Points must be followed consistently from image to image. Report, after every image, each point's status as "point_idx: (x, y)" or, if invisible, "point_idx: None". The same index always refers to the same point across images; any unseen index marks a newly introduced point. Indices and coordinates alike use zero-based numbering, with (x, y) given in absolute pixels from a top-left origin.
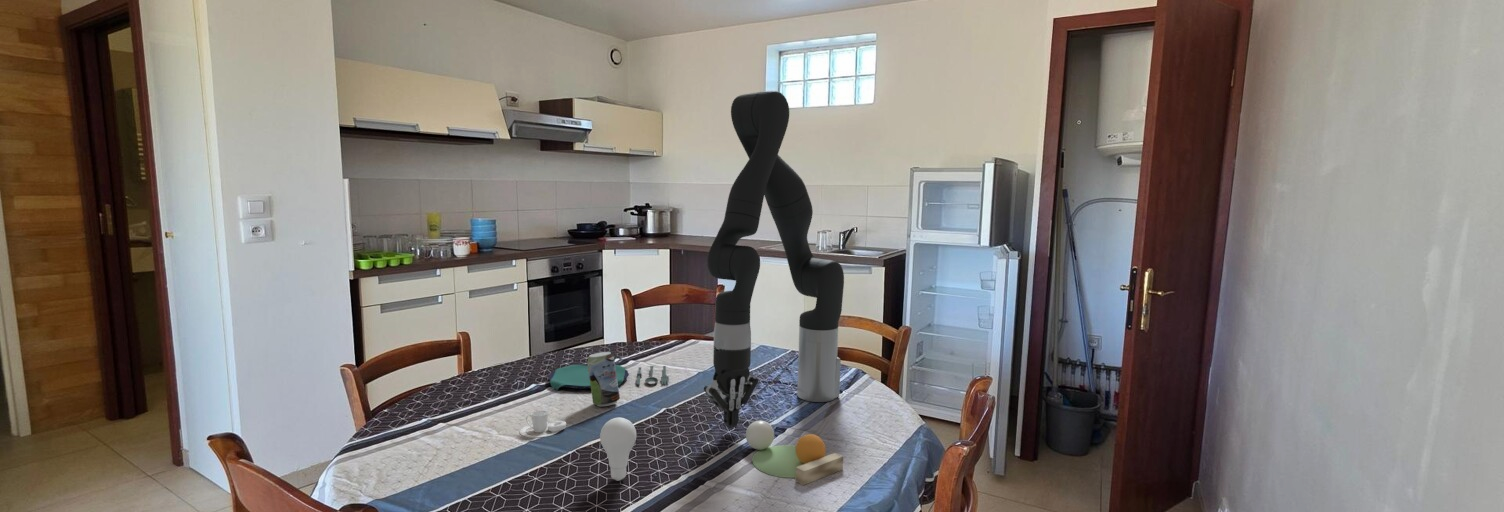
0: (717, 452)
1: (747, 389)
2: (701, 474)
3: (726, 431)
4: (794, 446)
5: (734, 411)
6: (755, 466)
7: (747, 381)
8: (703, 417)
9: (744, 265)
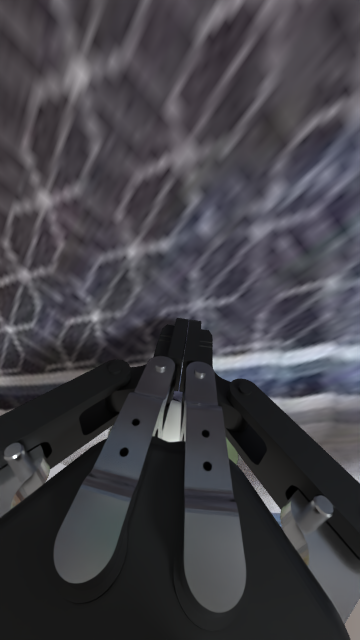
0: (85, 363)
1: (266, 480)
2: (14, 393)
3: (191, 299)
4: (227, 441)
5: (177, 387)
6: (110, 431)
7: (288, 538)
8: (246, 99)
9: None
